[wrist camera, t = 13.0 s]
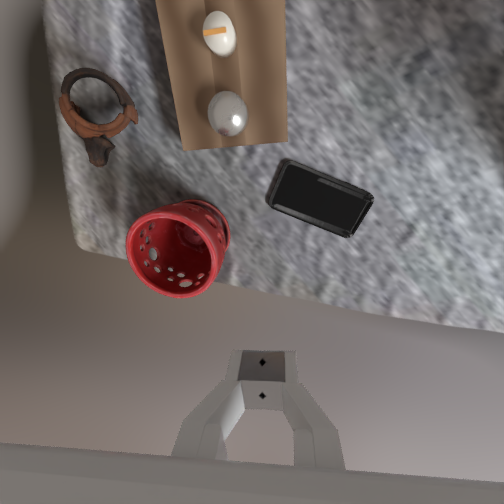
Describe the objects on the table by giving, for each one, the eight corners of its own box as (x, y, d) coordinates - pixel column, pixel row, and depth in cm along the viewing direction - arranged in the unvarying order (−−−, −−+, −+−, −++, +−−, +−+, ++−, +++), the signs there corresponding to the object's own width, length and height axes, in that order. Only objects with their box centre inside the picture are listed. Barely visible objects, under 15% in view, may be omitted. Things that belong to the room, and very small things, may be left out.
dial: (235, 19, 26) (230, 7, 24) (238, 56, 28) (234, 48, 25) (207, 24, 27) (199, 12, 24) (211, 59, 28) (204, 52, 26)
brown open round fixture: (67, 85, 36) (43, 52, 28) (137, 95, 39) (132, 68, 32) (78, 170, 38) (58, 160, 30) (144, 172, 41) (140, 164, 34)
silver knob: (251, 98, 33) (244, 88, 27) (253, 135, 35) (248, 134, 29) (218, 101, 34) (204, 93, 27) (223, 137, 36) (210, 137, 29)
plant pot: (214, 180, 39) (189, 196, 28) (245, 250, 44) (233, 287, 33) (148, 207, 42) (102, 231, 31) (183, 270, 47) (154, 309, 36)
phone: (350, 240, 40) (266, 206, 39) (348, 237, 41) (266, 204, 40) (377, 195, 37) (286, 157, 36) (374, 194, 38) (286, 157, 37)
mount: (282, -81, 26) (282, -126, 22) (286, 141, 35) (287, 141, 31) (160, -56, 28) (138, -93, 24) (195, 149, 37) (183, 150, 33)
